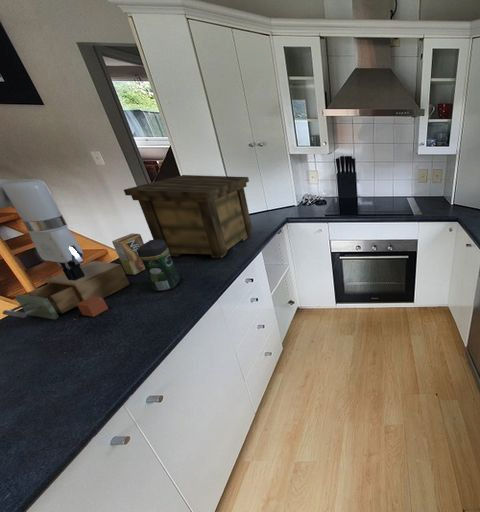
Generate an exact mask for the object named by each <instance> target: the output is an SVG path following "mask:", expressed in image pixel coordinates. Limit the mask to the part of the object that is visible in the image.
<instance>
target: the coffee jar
mask: <svg viewBox="0 0 480 512" xmlns="http://www.w3.org/2000/svg"><path fill="white" fill-rule="evenodd" d="M137 253H138V256H139V258H140V259H141V261H142V262H143V264H144V267H145V269H144V270H145V272H146V275H147V277H148V280H149V283H150V287H151V288H152V290H153V291H156V292H166V291H168V290H171V289H173V288H175V287H176V286H177V285H178V284H179V282H180V279H181V277H180V276H179V273H178V271H177V268H176V266H175V263H174V262H173V259H172V256H170V253H169V249H168V246H167V244H166V242H165V241H163V240H161V239H160V240H153V239H149V240H148V241H146V242H145V243H144V244H143V245H142V246H140V247H139V248H138V249H137Z"/></svg>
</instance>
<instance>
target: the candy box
mask: <svg viewBox="0 0 480 512" xmlns="http://www.w3.org/2000/svg"><path fill="white" fill-rule="evenodd" d="M111 242H112V245H113V247H114V250H115V252H116V254H117V256H118V258H119V260H120V261H119V262H120V263H121V266H122V269H123V271H124V273H125V275H132V276H135V275H137V274H139V273H140V272H143V271H145V270H146V269H145V267H144V264H143V262H142V261H141V259H140V258H139V256H138V253H137V249H138V248H139V247H140V246H142V245H143V244H145V243H144V240H143V237H142V235H141V233H133V232H132V233H129V234H127V235H124V236H122V237H119V238H116V239H114V240H112V241H111Z"/></svg>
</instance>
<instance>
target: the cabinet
mask: <svg viewBox="0 0 480 512" xmlns="http://www.w3.org/2000/svg"><path fill="white" fill-rule="evenodd" d="M80 267H81V269H82V271H83V273H84V275H85V276H84V277H82V278H80V279H78V280H75V281H72V280H68V279H67V277H66V275H65V273H64V272H62V273H59V274H58V275H54V276H52V277H49V278H47V279H45V282H46V283H47V284H50V283H58V284H65V285H72V286H75V287H76V289H77V291H78V293H79V294H80V296H81V298H82V300H83V301H84V300H86V299H88V298H90V297H92V296H93V297H100V298H103V299H105V298H107V297H108V296H111V295H112V294H114V293H116V292H118V291H120V290H122V289H124V288H127V287H128V286H130V285H131V284H130V282H129V280H128V277H127V276H126V275H127V274H126V272H125V270H124V268H123V266H122V263H121V264H120V263H113V262H106V261H99V260H93V261H90V262H87V263H85V264H82V265H80Z"/></svg>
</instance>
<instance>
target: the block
mask: <svg viewBox="0 0 480 512" xmlns="http://www.w3.org/2000/svg"><path fill="white" fill-rule="evenodd" d="M76 307H77V308H78V309H79V311H80V312H81V314H82V316H87V317H93V318H94V317H97V316H98V315H100V314H101V313H104V312H105V311H107V310H109V307H108V305H107V303H106V302H105V298H100V297H93V296H92V297H90V298H88V299H86V300H84V301H82V302H80V303H78V304H77V306H76Z"/></svg>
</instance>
